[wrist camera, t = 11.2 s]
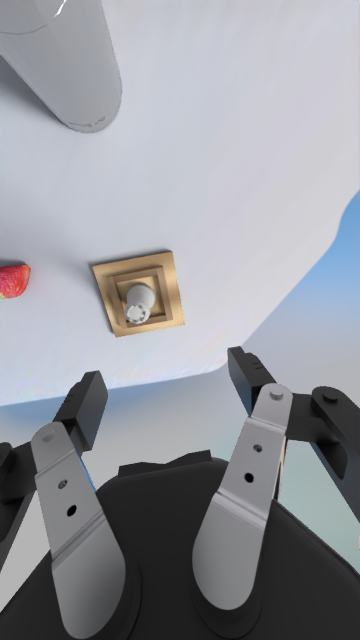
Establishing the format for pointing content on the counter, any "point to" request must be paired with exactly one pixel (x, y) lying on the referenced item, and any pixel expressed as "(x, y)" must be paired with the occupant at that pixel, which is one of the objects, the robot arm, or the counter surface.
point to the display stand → (148, 271)
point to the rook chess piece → (139, 303)
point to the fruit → (13, 280)
